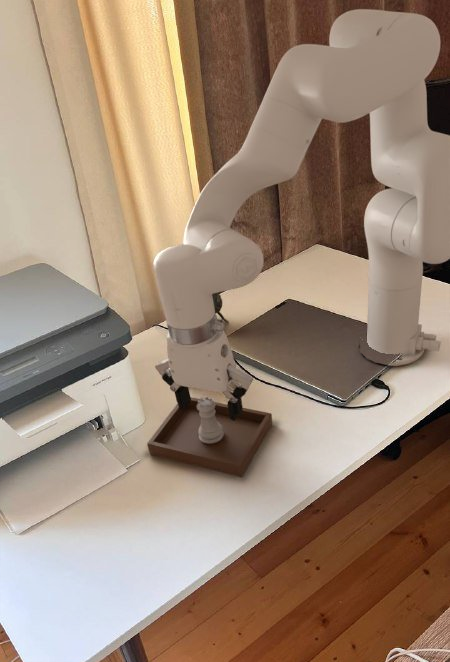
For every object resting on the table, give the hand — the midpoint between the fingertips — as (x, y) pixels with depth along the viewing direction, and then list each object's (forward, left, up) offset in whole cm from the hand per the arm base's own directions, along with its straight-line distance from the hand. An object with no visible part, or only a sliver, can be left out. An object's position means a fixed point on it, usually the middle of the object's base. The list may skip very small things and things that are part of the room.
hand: (210, 410), depth 107 cm
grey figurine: (+17, -32, -7) cm, 37 cm away
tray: (0, +1, -6) cm, 6 cm away
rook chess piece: (0, +1, -6) cm, 6 cm away
